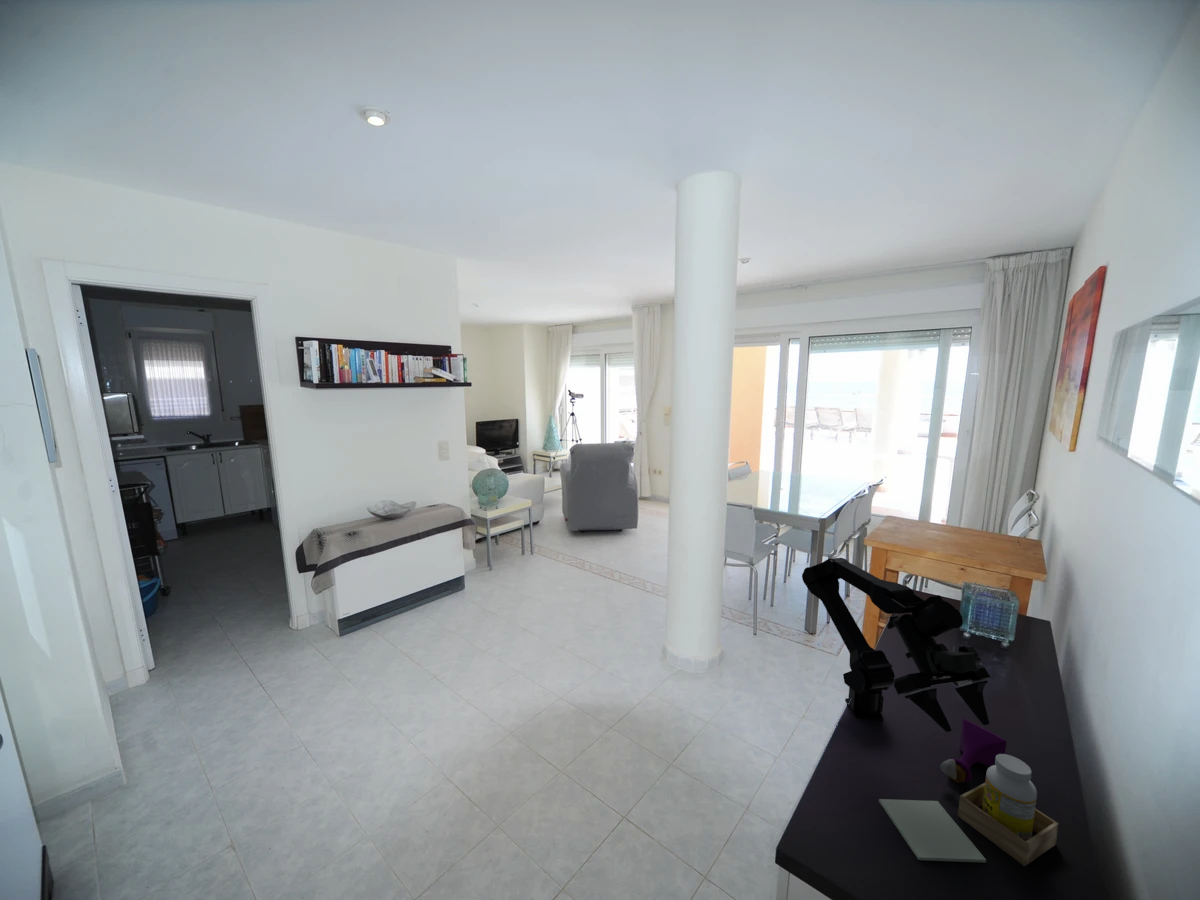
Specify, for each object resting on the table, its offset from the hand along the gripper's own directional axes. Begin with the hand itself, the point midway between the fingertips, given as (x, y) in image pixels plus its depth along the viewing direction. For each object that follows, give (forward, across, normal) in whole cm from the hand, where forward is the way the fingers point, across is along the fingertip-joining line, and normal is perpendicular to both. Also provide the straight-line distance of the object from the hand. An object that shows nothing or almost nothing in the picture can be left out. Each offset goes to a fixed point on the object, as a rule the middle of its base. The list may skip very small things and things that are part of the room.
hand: (968, 728), depth 86 cm
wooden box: (+15, 0, +4) cm, 16 cm away
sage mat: (+13, -14, +6) cm, 20 cm away
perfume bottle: (+2, +15, +11) cm, 19 cm away
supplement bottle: (+15, 0, +4) cm, 16 cm away
